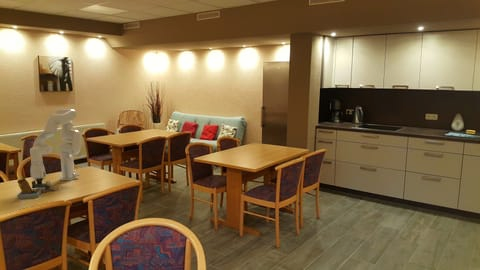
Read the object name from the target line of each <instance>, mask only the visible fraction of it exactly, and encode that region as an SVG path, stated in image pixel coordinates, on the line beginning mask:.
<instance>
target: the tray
mask: <svg viewBox="0 0 480 270" xmlns="http://www.w3.org/2000/svg"><path fill="white" fill-rule="evenodd" d="M31 189H32V190H33V189H35V190H37V191H36V192H34V193H32V194H23V192H22V191H20V192H19V193H18V194H17V200H22V199H24V200H25V199H37V198H39V197H40V196H41V194H42V193H43V192H42V190H41V189H40V188H31Z"/></svg>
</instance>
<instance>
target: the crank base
mask: <svg viewBox="0 0 480 270" xmlns="http://www.w3.org/2000/svg"><path fill="white" fill-rule="evenodd" d="M39 189H41V190H42V193H47V192H56V191H58V189H59V186H57V187H56V186H55V187H53V186H51V187H50V188H39Z"/></svg>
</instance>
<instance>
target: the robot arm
mask: <svg viewBox="0 0 480 270" xmlns="http://www.w3.org/2000/svg"><path fill="white" fill-rule="evenodd" d="M76 117H77V111H76V110H75V109H72V108H58V109H56V111H55V113H53V114H50V115H49V116H48V117H47V120H46V122H45V123H46V124H45V126H44V129H43V131H42V132H41V133H40V134H39V135H38V136H37V137H36V138H35V140H34V142H33V145H32V147H31V148H30V149H29V154H30V164H31V165H30V178H32V179H33V180H35V181H36V184H38V183H43V181H44V180H46V175H47V173H46V168H45V165H44V161H43V156H47V155H50V154H51V153H52V152H53V147H52V146H51V145H49V144H48V145H47V144H43V142H45V140H47V139H49V138H51V137H53V136H55V135H56V134H57V130H58V128H59V125H60V126H61V139H62V140H63V141H64V142H61V143H60V144H59V145H58V151H59V154H60V155H59V156H60V165H61V166H60V167H61V177H60V181H63V182H64V181H72V180H76V179H77V177H80V176H81V174H80V173H76V172H75V166H74V165H75V164H74V156H73V155H77V154H80V152H81V148H82V147H81V146H82V134H81V131H79V130H77V129H74V122H73V121H74V120H75V119H76ZM67 141H68V142H67Z"/></svg>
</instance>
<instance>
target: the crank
mask: <svg viewBox="0 0 480 270" xmlns="http://www.w3.org/2000/svg"><path fill="white" fill-rule="evenodd" d="M51 185H52V183H51V181H49V180H47V181H45V182H44V183H43V182H42V183H38V184H37V182H36V180H35V179H33V180H32V181H31V189H40V188H50V187H52V186H51Z"/></svg>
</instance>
